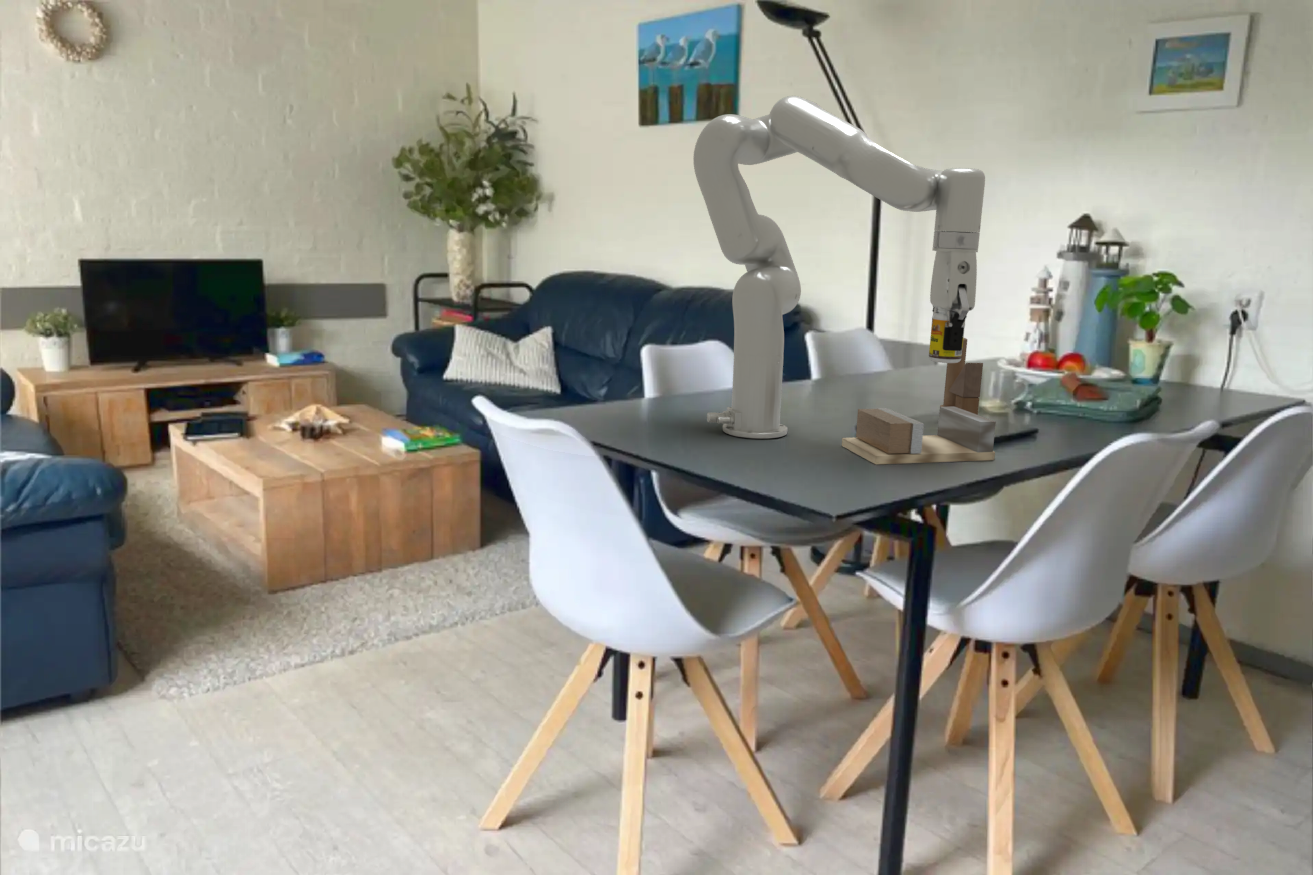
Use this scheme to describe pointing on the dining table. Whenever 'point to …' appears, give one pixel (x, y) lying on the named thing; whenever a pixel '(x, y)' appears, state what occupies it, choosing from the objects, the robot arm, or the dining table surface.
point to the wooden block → (963, 384)
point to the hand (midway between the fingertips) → (945, 346)
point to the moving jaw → (889, 431)
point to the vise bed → (940, 441)
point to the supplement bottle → (941, 339)
